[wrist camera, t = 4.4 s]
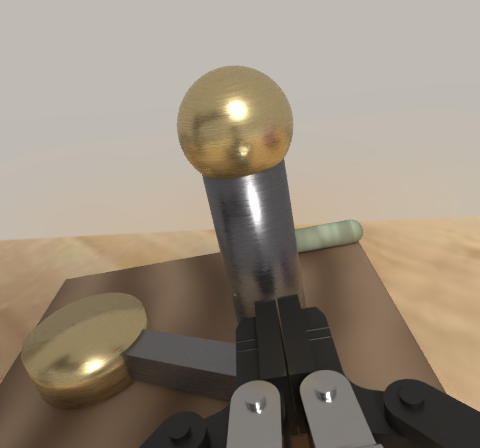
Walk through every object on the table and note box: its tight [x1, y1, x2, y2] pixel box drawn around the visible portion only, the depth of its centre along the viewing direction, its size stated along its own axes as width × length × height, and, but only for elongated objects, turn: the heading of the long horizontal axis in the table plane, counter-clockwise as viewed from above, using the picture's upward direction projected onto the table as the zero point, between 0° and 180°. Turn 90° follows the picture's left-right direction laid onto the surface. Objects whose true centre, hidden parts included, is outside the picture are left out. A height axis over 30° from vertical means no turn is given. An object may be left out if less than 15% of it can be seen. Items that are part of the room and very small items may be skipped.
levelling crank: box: [21, 66, 306, 426], centre depth 20 cm, size 18×7×15 cm, turn 66°
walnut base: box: [0, 220, 446, 448], centre depth 27 cm, size 24×18×3 cm
